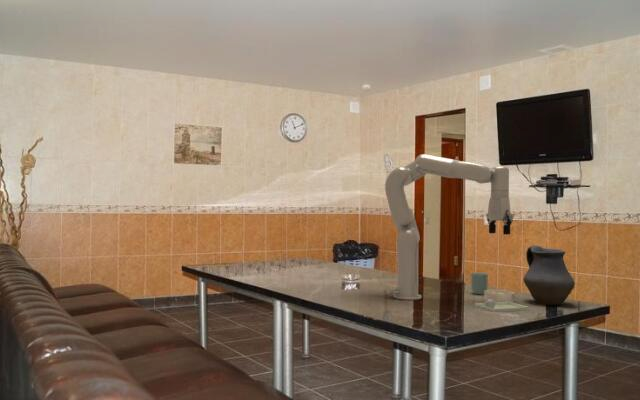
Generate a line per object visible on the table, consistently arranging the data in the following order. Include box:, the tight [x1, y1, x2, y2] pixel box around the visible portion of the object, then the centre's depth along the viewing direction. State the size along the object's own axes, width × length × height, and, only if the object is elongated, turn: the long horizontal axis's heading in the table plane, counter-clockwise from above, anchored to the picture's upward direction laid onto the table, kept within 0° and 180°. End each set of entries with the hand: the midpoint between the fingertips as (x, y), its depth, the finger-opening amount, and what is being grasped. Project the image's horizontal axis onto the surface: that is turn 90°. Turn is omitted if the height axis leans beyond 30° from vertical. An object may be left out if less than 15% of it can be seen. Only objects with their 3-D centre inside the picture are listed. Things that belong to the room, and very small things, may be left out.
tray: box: [474, 302, 530, 313], centre depth 221 cm, size 17×12×2 cm
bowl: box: [483, 289, 516, 303], centre depth 236 cm, size 12×12×4 cm
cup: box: [470, 271, 489, 296], centre depth 258 cm, size 8×8×10 cm
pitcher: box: [522, 244, 576, 306], centre depth 235 cm, size 21×22×25 cm
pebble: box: [484, 299, 495, 308], centre depth 219 cm, size 4×4×4 cm
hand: (499, 233), depth 235 cm, fingers open, 9 cm apart
